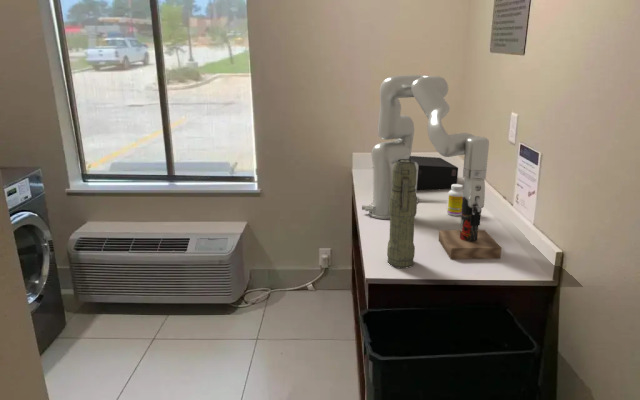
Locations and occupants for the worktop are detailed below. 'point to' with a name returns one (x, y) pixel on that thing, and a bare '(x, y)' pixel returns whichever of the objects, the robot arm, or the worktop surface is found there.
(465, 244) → the walnut stand
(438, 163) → the headphone box
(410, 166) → the thermos
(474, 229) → the deodorant
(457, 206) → the supplement bottle
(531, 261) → the worktop surface
